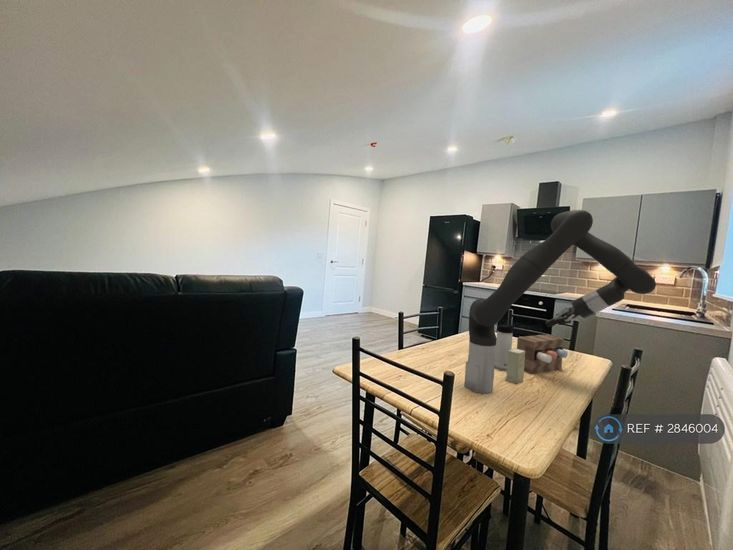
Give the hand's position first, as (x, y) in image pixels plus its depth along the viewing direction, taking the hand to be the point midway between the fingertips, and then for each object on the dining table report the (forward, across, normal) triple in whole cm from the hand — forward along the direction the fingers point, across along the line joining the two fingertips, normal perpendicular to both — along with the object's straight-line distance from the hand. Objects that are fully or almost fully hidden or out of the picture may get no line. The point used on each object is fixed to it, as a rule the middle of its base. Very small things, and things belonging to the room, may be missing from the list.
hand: (546, 325), depth 121 cm
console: (+17, -5, +17) cm, 24 cm away
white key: (+10, +3, +12) cm, 15 cm away
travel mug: (+25, +6, +7) cm, 27 cm away
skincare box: (+19, +17, +9) cm, 27 cm away
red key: (+9, -4, +14) cm, 17 cm away
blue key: (+7, -10, +17) cm, 21 cm away
